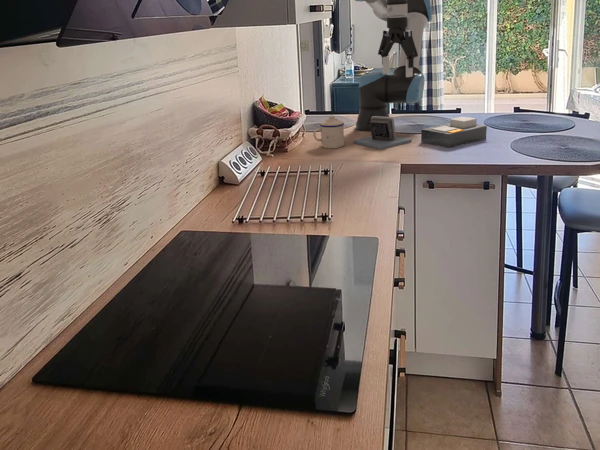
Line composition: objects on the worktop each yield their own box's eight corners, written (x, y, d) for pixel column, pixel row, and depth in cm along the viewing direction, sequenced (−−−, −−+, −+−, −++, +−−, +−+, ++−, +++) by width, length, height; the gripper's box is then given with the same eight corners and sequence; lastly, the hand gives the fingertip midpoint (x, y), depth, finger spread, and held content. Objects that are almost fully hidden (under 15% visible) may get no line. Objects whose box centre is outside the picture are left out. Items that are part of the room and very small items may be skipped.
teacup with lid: (341, 142, 227) (340, 112, 223) (347, 147, 219) (346, 116, 215) (311, 145, 226) (310, 115, 221) (316, 150, 217) (315, 119, 213)
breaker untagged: (450, 126, 221) (450, 119, 220) (462, 123, 224) (462, 116, 223) (463, 128, 215) (464, 121, 214) (476, 125, 219) (476, 118, 218)
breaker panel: (421, 142, 220) (421, 128, 218) (457, 133, 230) (458, 120, 228) (448, 148, 208) (449, 133, 207) (486, 138, 218) (486, 124, 217)
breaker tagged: (431, 136, 217) (431, 128, 216) (444, 133, 220) (444, 125, 219) (444, 138, 211) (445, 131, 210) (457, 135, 215) (458, 128, 214)
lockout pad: (352, 142, 226) (352, 140, 225) (384, 136, 234) (383, 133, 233) (379, 149, 213) (379, 146, 213) (411, 141, 221) (411, 139, 221)
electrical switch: (396, 139, 222) (395, 115, 218) (390, 143, 218) (389, 119, 214) (374, 137, 227) (373, 114, 223) (368, 141, 223) (367, 118, 219)
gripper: (368, 17, 222) (369, 73, 230) (412, 17, 202) (411, 79, 210) (383, 15, 225) (384, 71, 233) (428, 15, 205) (427, 76, 213)
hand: (397, 75), depth 222 cm, fingers open, 13 cm apart
